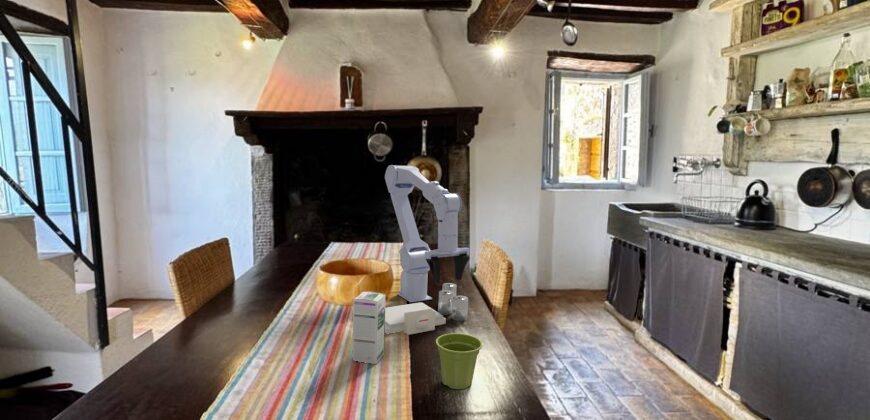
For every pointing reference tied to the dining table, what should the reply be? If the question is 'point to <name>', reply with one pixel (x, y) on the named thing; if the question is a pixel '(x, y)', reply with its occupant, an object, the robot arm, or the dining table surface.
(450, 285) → the cylinder
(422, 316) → the scale
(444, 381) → the plant pot
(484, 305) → the dining table surface
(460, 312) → the cylinder
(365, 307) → the syrup box
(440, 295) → the cylinder
